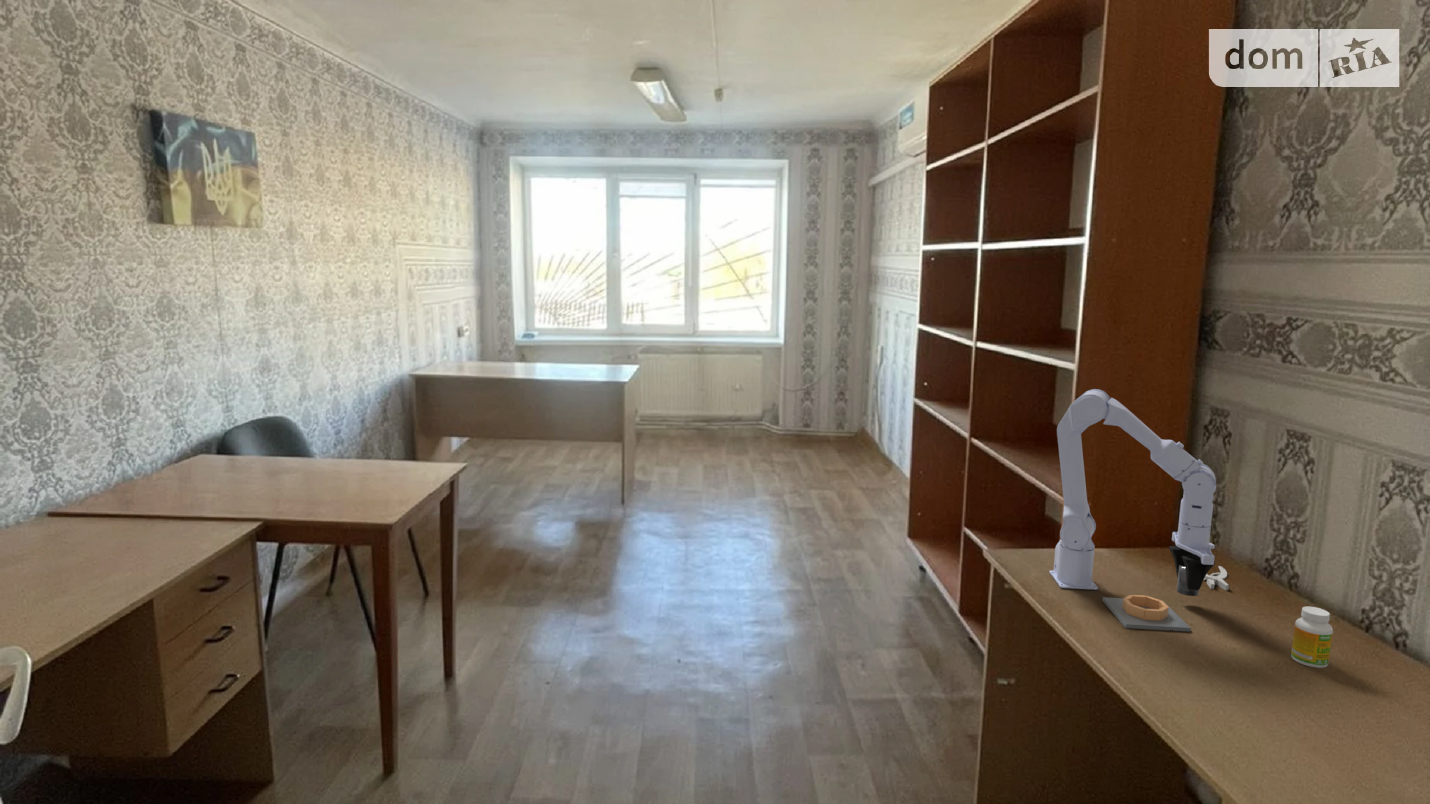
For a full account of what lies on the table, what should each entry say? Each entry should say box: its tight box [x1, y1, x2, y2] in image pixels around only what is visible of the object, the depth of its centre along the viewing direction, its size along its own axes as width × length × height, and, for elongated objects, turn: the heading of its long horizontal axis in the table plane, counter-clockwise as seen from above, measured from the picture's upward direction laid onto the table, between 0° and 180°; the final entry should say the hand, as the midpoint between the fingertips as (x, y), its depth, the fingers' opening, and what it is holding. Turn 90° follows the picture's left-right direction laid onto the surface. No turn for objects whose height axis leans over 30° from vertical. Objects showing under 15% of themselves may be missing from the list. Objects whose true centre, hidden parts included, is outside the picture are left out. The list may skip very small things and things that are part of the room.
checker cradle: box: [1102, 594, 1192, 633], centre depth 158 cm, size 13×12×3 cm
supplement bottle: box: [1290, 606, 1334, 669], centre depth 139 cm, size 5×5×10 cm
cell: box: [1176, 564, 1200, 597], centre depth 163 cm, size 4×4×6 cm
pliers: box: [1203, 565, 1230, 591], centre depth 178 cm, size 10×2×15 cm
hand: (1188, 584), depth 163 cm, fingers closed on cell, 4 cm apart
